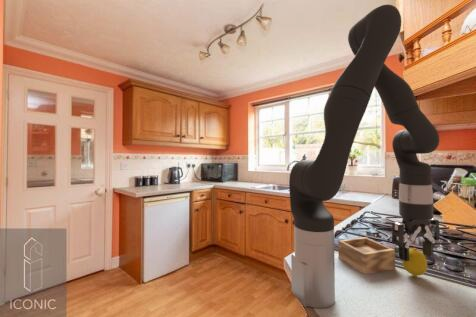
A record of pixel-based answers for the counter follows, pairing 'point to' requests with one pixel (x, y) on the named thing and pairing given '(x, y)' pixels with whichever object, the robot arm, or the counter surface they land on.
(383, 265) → the oak box
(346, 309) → the counter surface
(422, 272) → the lemon
